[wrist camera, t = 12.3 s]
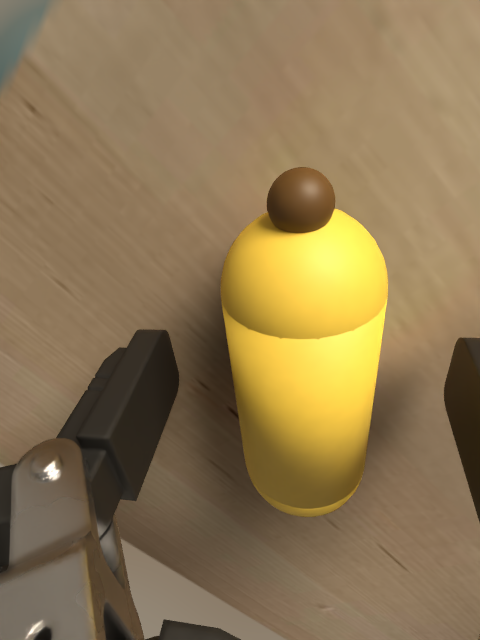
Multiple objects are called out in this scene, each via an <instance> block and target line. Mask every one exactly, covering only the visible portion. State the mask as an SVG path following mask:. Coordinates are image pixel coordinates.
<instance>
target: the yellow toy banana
mask: <svg viewBox="0 0 480 640" xmlns="http://www.w3.org/2000/svg"><path fill="white" fill-rule="evenodd" d="M334 208H335V194H334V190H333V187H332V185H331V183H330V182H329V180H328V179H327V178H326V177H325V176H324V175H323V174H322V173H320V172H319V171H317V170H314V169H311V168H306V167H298V168H293V169H290V170H288V171H286V172H284V173H283V174H281V175H280V176H279V177H278V178H277V179H276V180H275V181H274V183H273V184H272V186H271V188H270V190H269V193H268V197H267V211H268V212H267V213H265V214H263V215H261V216H260V217H258V218H257V219H256V220H254V221H253V222H252V223H251V224H249V225H248V226H247V227H246V228H245V229H244V230H243V231H242V232H241V233H240V235H239V236H238V237H237V239H236V240H235V241H234V243H233V245H232V246H231V248H230V250H229V253H228V255H227V257H226V259H225V262H224V267H223V272H222V277H221V301H222V308H223V315H224V321H225V328H226V335H227V342H228V348H229V355H230V362H231V368H232V375H233V382H234V389H235V395H236V402H237V409H238V415H239V422H240V429H241V436H242V442H243V449H244V456H245V462H246V467H247V470H248V473H249V476H250V478H251V481H252V483H253V485H254V486H255V488H256V489H257V490H258V492H259V493H260V494H261V496H262V497H263V498H264V499H265V500H266V501H267V502H268V503H269V504H271V505H272V506H274V507H275V508H277V509H278V510H280V511H283V512H285V513H288V514H290V515H295V516H300V517H316V516H321V515H325V514H328V513H330V512H333V511H335V510H336V509H338V508H339V507H341V506H342V505H344V504H345V503H346V501H347V500H348V499H349V498H350V497H351V496H352V495H353V494H354V493H355V491H356V489H357V487H358V485H359V484H360V481H361V478H362V475H363V471H364V467H365V459H366V451H367V444H368V437H369V429H370V422H371V414H372V407H373V400H374V392H375V385H376V377H377V370H378V363H379V355H380V348H381V341H382V333H383V326H384V318H385V311H386V304H387V297H388V276H387V270H386V265H385V261H384V258H383V256H382V254H381V252H380V250H379V248H378V246H377V244H376V242H375V240H374V238H373V237H372V236H371V235H370V234H369V233H368V231H367V230H366V229H365V228H364V227H363V226H362V225H361V224H360V223H359V222H358V221H356V220H355V219H353V218H352V217H350V216H349V215H347V214H346V213H344V212H342V211H340V210H337V209H334Z"/></svg>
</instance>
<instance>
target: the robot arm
mask: <svg viewBox="0 0 480 640" xmlns="http://www.w3.org/2000/svg"><path fill="white" fill-rule="evenodd" d="M178 387H179V372H178V367H177V363H176V360H175V356H174V352H173V348H172V344H171V340H170V337H169V334H168V332H167V331H166V330H137V331H136V333H135V334H134V336H133V338H132V339H131V341H130V343H129V345H128V346H127V348H118V349H117V350H116V351H115V352H114V353H112V354H111V355H110V356H109V357H108V358H106V359H105V360H104V362H103V363H102V365H101V367H100V368H99V370H98V371H97V373H96V375H95V378H93V379H92V381H91V383H90V384H89V386H88V390H86V391H85V392H84V394H83V396H82V397H81V399H80V400H79V402H78V404H77V405H76V407H75V408H74V410H73V412H72V413H71V415H70V417H69V418H68V420H67V421H66V423H65V425H64V426H63V428H62V429H61V431H60V433H59V434H58V436H57V437H56V438H55V439H51V440H47V441H45V442H42V443H40V444H38V445H37V446H35V447H33V448H32V449H31V450H29V451H28V452H27V453H26V454H25V455H24V456H23V457H22V458H21V459H20V460H19V462H18V463H17V464H14V465H10V466H5V467H1V468H0V640H144V635H143V631H142V627H141V623H140V620H139V616H138V613H137V610H136V608H135V605H134V602H133V599H132V595H131V591H130V586H129V581H128V577H127V571H126V566H125V560H124V555H123V550H122V544H121V539H120V534H119V529H118V524H117V519H116V515H115V514H114V513H115V511H116V508H117V506H118V503H119V501H120V499H123V500H132V501H136V500H137V498H138V495H139V492H140V490H141V487H142V484H143V482H144V479H145V476H146V474H147V471H148V469H149V466H150V463H151V461H152V458H153V455H154V453H155V450H156V448H157V445H158V442H159V440H160V437H161V434H162V432H163V429H164V426H165V424H166V421H167V419H168V416H169V413H170V411H171V408H172V405H173V403H174V400H175V398H176V395H177V392H178ZM444 401H445V407H446V411H447V414H448V418H449V421H450V425H451V428H452V431H453V435H454V438H455V441H456V445H457V448H458V451H459V455H460V458H461V462H462V465H463V468H464V472H465V475H466V478H467V482H468V485H469V488H470V492H471V495H472V499H473V502H474V505H475V509H476V512H477V515H478V519H479V522H480V338H459V339H458V340H457V342H456V345H455V349H454V352H453V356H452V360H451V363H450V367H449V371H448V374H447V378H446V382H445V387H444ZM146 640H241V639H239V638H237V637H235V636H233V635H230V634H229V633H227V632H225V631H223V630H221V629H219V628H214V627H207V626H201V625H195V624H188V623H183V622H176V621H170V620H164V621H163V625H162V628H161V632H160V636H155V637H152V638H149V639H146ZM478 640H480V636H479V638H478Z"/></svg>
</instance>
